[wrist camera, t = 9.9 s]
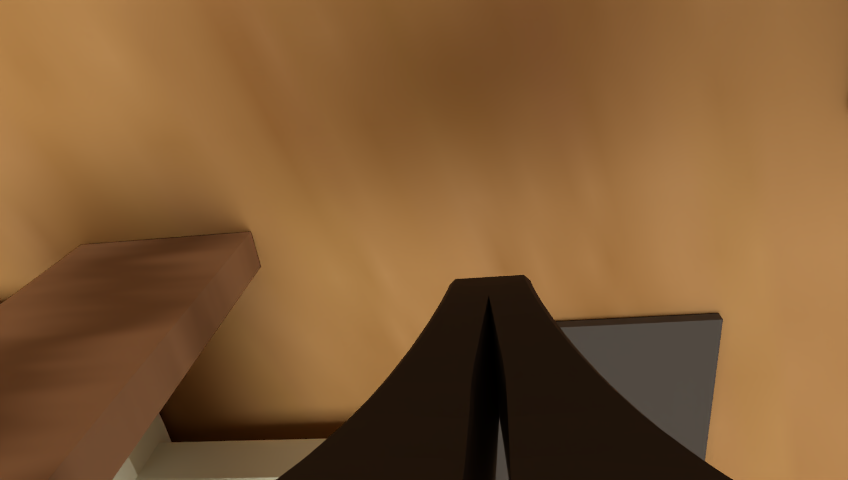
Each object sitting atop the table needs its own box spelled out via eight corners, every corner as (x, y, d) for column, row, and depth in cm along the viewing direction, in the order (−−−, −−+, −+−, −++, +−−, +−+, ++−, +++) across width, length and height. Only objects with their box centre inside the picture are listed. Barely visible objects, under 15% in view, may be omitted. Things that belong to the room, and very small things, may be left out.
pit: (718, 313, 21) (722, 319, 21) (692, 529, 26) (695, 537, 26) (450, 327, 23) (449, 332, 22) (475, 530, 28) (475, 537, 27)
